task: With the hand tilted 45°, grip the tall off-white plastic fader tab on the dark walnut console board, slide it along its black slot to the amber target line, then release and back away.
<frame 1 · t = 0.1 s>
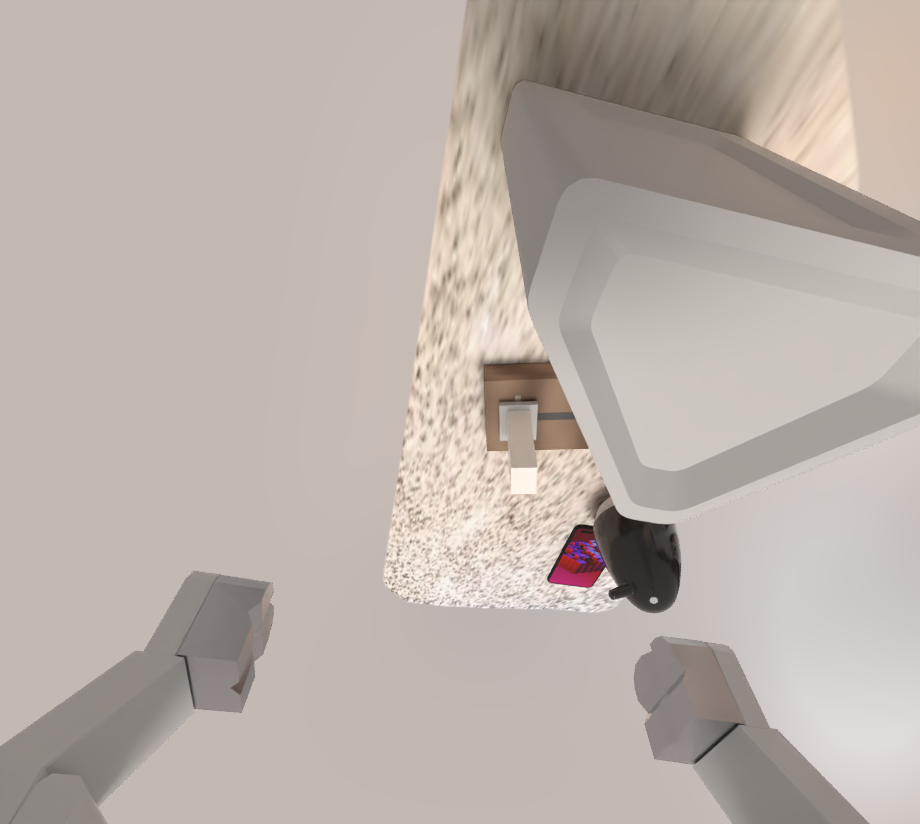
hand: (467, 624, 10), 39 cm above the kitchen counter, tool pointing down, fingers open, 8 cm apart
pump dispenser: (624, 503, 66), on the kitchen counter
paper bag: (597, 206, 42), on the kitchen counter
smartphone: (583, 554, 75), on the kitchen counter
fader tab: (520, 448, 49), point 8 cm above the kitchen counter, slide at 0.0 cm
console board: (582, 398, 55), on the kitchen counter
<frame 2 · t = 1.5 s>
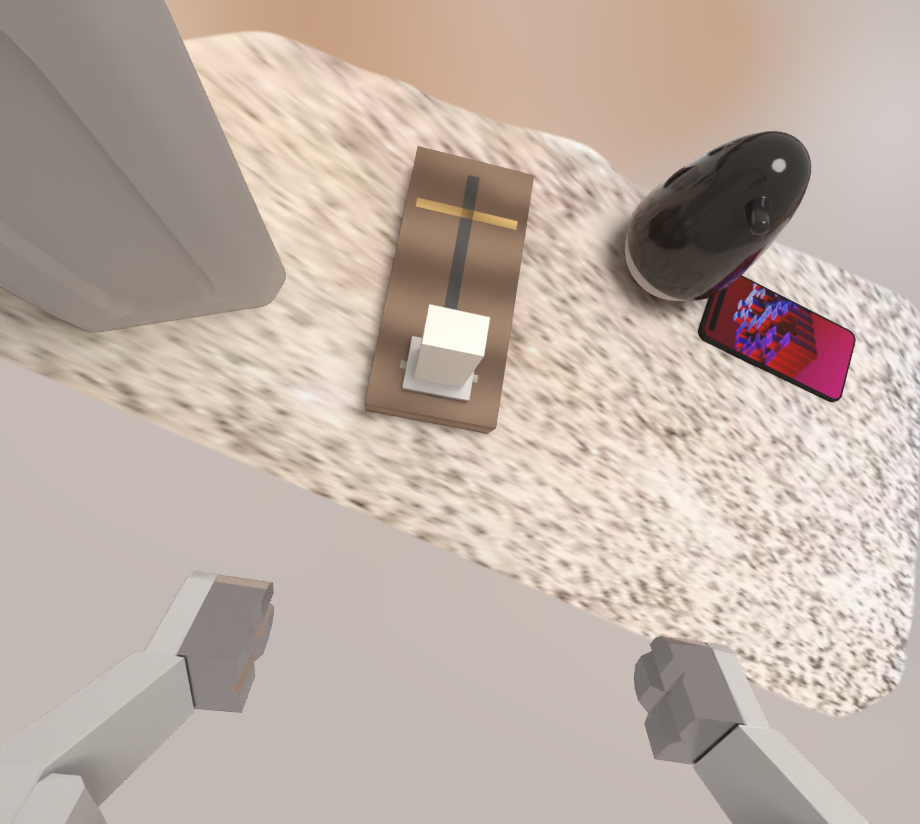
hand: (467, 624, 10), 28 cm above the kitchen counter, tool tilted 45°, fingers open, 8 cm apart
pump dispenser: (658, 266, 45), on the kitchen counter
paper bag: (195, 249, 39), on the kitchen counter
smartphone: (772, 337, 46), on the kitchen counter
fader tab: (447, 352, 32), point 8 cm above the kitchen counter, slide at 0.0 cm
console board: (450, 296, 41), on the kitchen counter
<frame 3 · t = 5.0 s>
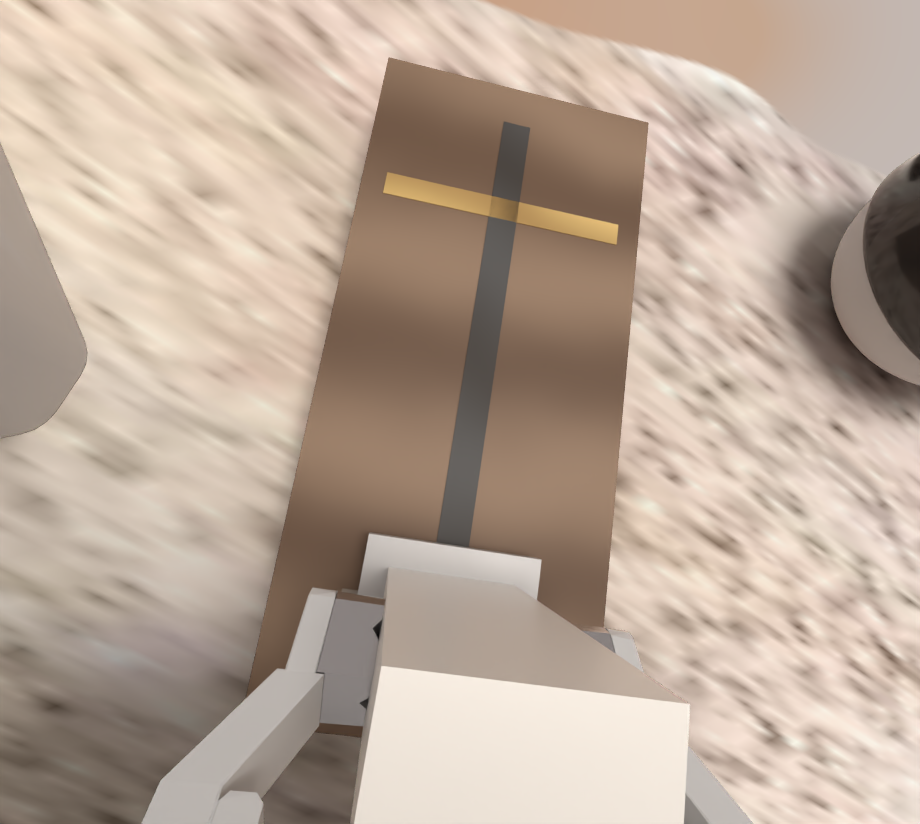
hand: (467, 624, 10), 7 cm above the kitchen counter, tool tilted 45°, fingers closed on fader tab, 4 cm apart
pump dispenser: (883, 311, 22), on the kitchen counter
fader tab: (466, 667, 10), point 8 cm above the kitchen counter, slide at 0.0 cm, touching gripper
console board: (465, 392, 19), on the kitchen counter
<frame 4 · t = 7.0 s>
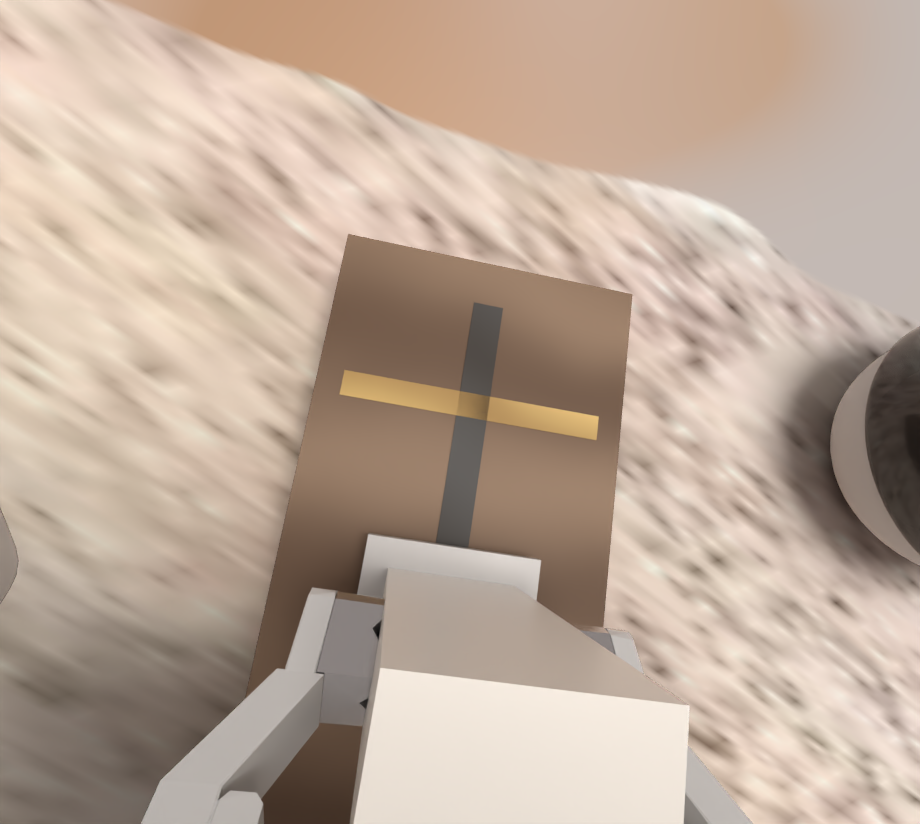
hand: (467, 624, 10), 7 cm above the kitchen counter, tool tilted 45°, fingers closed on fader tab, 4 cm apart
pump dispenser: (886, 464, 21), on the kitchen counter
fader tab: (465, 669, 10), point 8 cm above the kitchen counter, slide at 7.1 cm, touching gripper
console board: (435, 584, 17), on the kitchen counter
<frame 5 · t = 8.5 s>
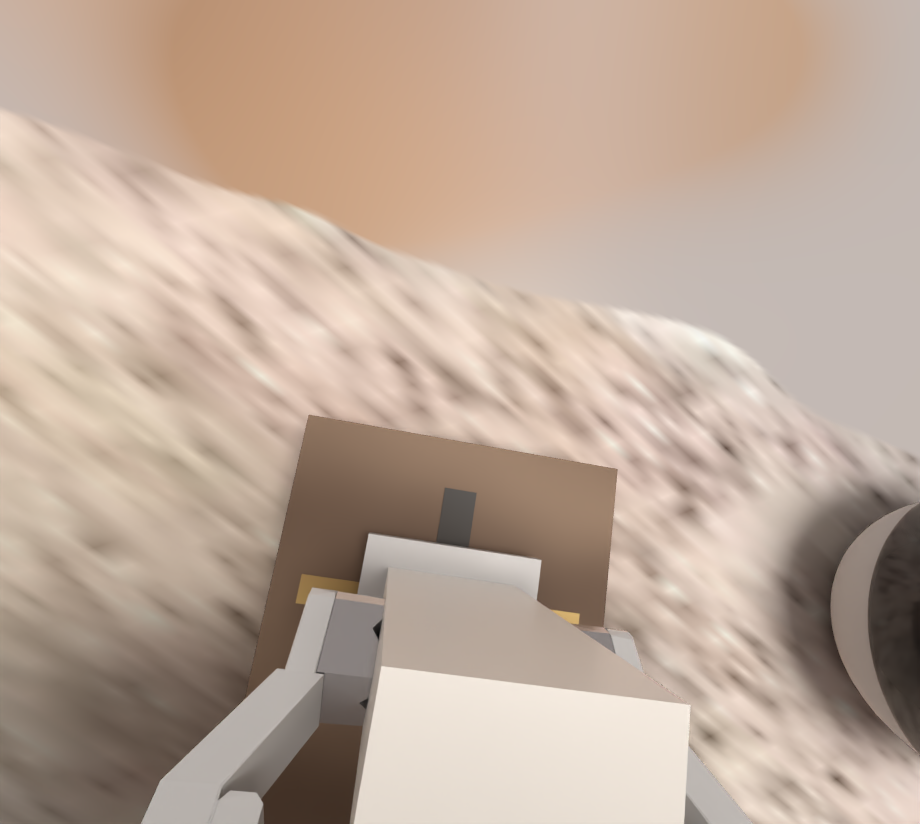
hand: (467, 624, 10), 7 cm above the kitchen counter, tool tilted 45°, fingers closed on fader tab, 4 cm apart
pump dispenser: (890, 617, 20), on the kitchen counter
fader tab: (466, 668, 10), point 8 cm above the kitchen counter, slide at 13.4 cm, touching gripper
console board: (404, 779, 16), on the kitchen counter
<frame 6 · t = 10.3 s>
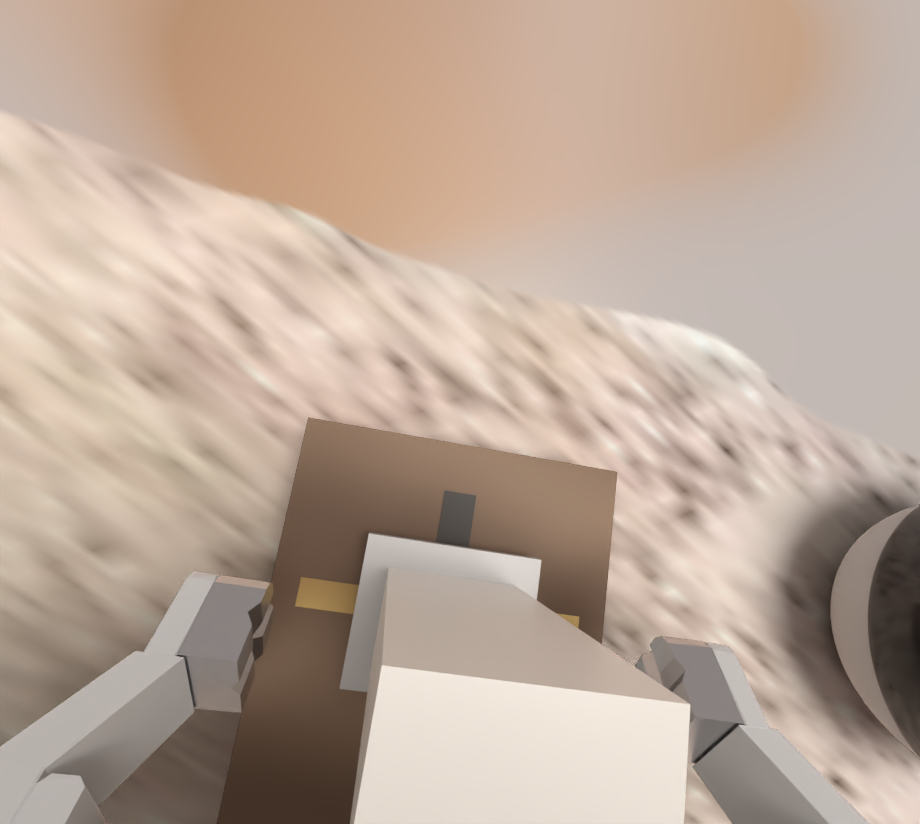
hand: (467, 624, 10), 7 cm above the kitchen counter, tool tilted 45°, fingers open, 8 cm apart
pump dispenser: (890, 619, 20), on the kitchen counter
fader tab: (466, 667, 10), point 8 cm above the kitchen counter, slide at 13.5 cm
console board: (403, 782, 16), on the kitchen counter
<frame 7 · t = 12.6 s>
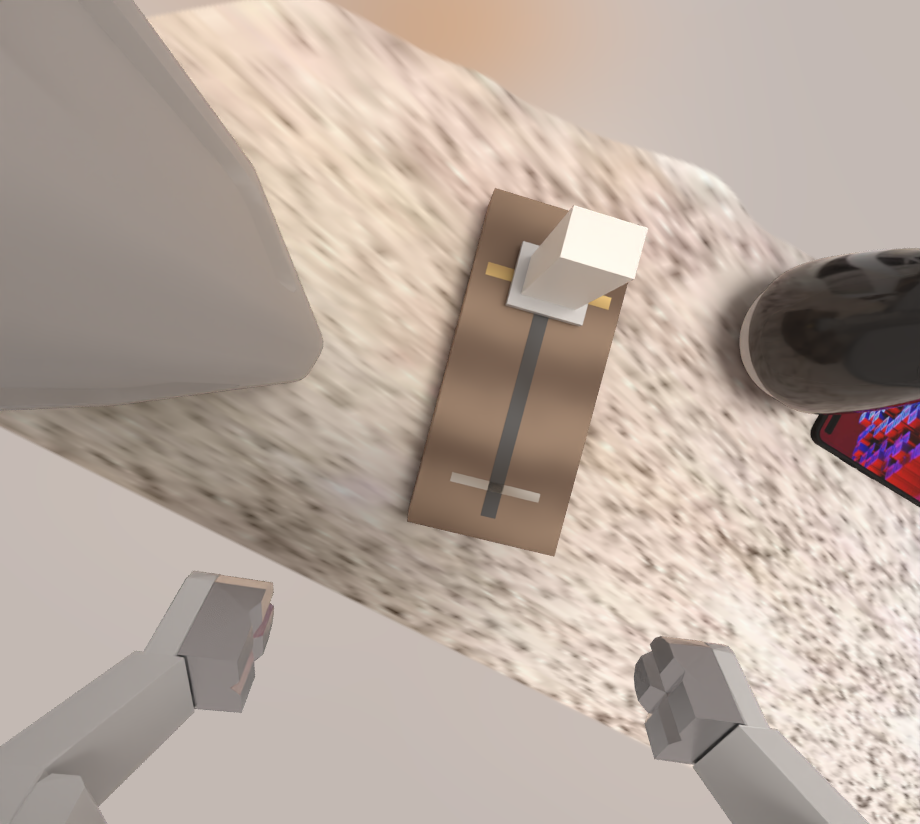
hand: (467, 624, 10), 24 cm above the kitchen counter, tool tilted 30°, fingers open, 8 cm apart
pump dispenser: (777, 345, 36), on the kitchen counter
paper bag: (218, 306, 33), on the kitchen counter
smartphone: (901, 441, 38), on the kitchen counter
fader tab: (572, 267, 27), point 8 cm above the kitchen counter, slide at 13.5 cm
console board: (515, 377, 35), on the kitchen counter
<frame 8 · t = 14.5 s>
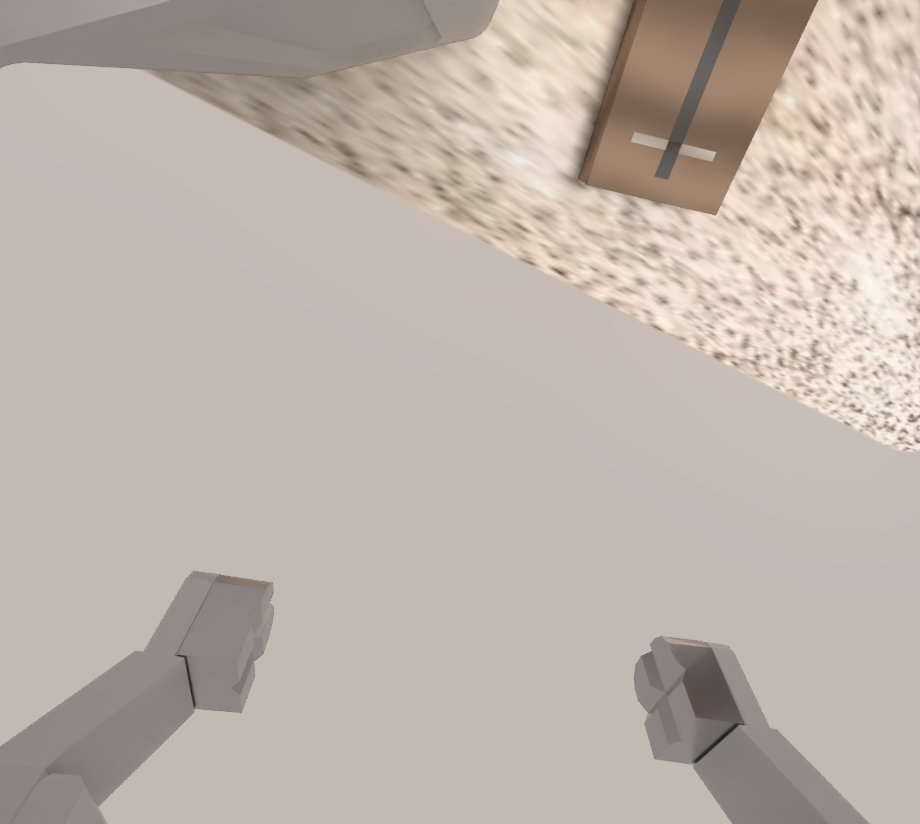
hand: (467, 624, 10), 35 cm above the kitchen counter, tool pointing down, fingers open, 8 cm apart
console board: (708, 15, 32), on the kitchen counter
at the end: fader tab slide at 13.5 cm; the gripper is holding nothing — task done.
